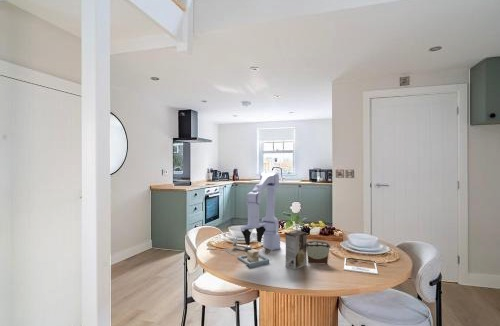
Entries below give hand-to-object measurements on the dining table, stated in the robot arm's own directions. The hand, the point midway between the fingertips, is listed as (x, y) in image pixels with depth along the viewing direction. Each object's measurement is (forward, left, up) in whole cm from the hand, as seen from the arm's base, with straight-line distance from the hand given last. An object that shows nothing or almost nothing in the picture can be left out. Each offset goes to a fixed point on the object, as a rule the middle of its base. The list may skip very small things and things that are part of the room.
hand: (253, 243), depth 144 cm
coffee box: (-15, +15, -10) cm, 23 cm away
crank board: (-2, -17, -9) cm, 20 cm away
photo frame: (-42, +31, -10) cm, 53 cm away
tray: (0, 0, -9) cm, 9 cm away
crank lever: (-4, -18, -7) cm, 20 cm away
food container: (-28, +16, -10) cm, 34 cm away
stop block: (0, 0, -9) cm, 9 cm away
